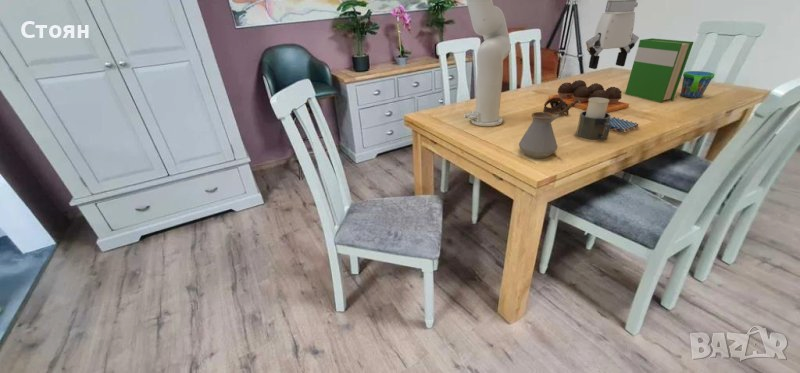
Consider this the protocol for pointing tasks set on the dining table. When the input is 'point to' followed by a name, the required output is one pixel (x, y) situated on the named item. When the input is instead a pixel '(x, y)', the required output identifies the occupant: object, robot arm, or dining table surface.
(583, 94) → the chocolate cupcake tray
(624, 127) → the woven mat
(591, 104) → the paper cup
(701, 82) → the snack cup
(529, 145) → the coffee pot
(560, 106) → the broken brown clay pot
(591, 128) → the mug
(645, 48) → the hardback book
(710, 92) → the dining table surface
